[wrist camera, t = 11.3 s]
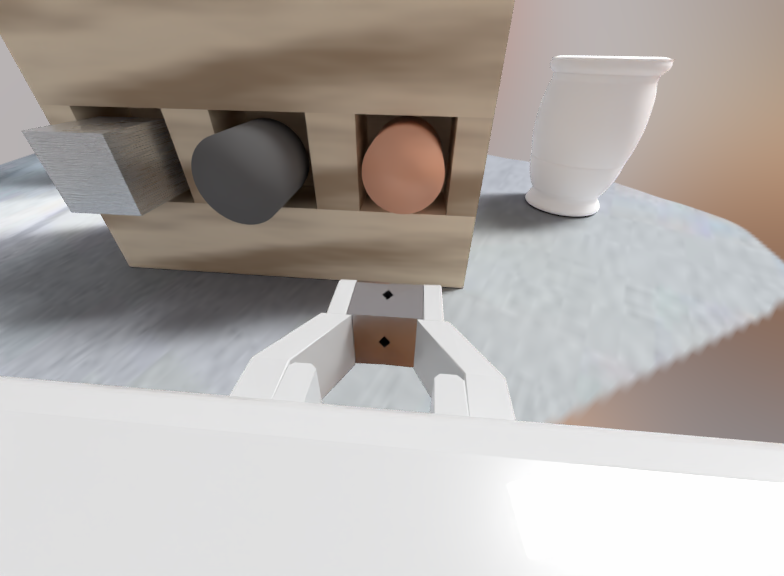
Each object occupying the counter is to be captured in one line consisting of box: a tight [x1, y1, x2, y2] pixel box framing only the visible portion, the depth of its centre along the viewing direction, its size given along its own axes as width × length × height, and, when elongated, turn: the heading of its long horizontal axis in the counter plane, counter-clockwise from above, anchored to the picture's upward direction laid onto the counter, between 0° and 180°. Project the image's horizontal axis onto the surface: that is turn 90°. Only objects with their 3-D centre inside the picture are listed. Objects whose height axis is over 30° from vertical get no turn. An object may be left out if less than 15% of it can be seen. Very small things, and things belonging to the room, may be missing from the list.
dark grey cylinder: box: [191, 118, 309, 225], centre depth 20 cm, size 5×5×5 cm
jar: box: [525, 55, 674, 216], centre depth 35 cm, size 11×10×15 cm
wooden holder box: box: [0, 0, 515, 288], centre depth 25 cm, size 10×28×18 cm, turn 85°
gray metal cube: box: [22, 116, 190, 216], centre depth 20 cm, size 5×5×5 cm
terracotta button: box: [362, 116, 445, 214], centre depth 21 cm, size 5×5×5 cm
